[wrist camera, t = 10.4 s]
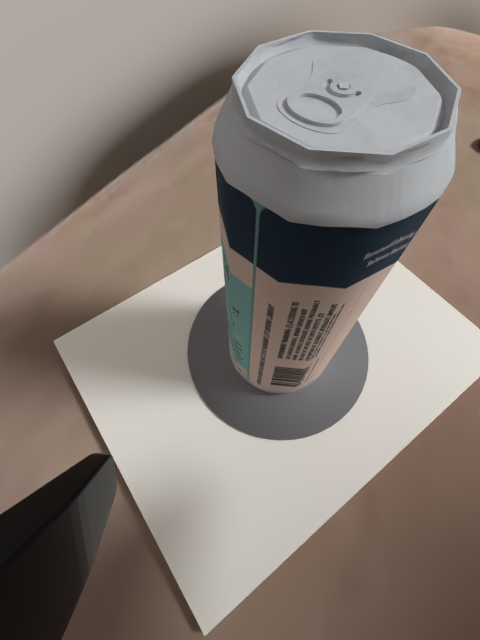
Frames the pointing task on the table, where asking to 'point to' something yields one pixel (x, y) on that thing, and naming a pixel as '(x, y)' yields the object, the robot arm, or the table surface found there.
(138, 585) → the table surface
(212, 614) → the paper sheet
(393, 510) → the table surface
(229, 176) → the beer can
